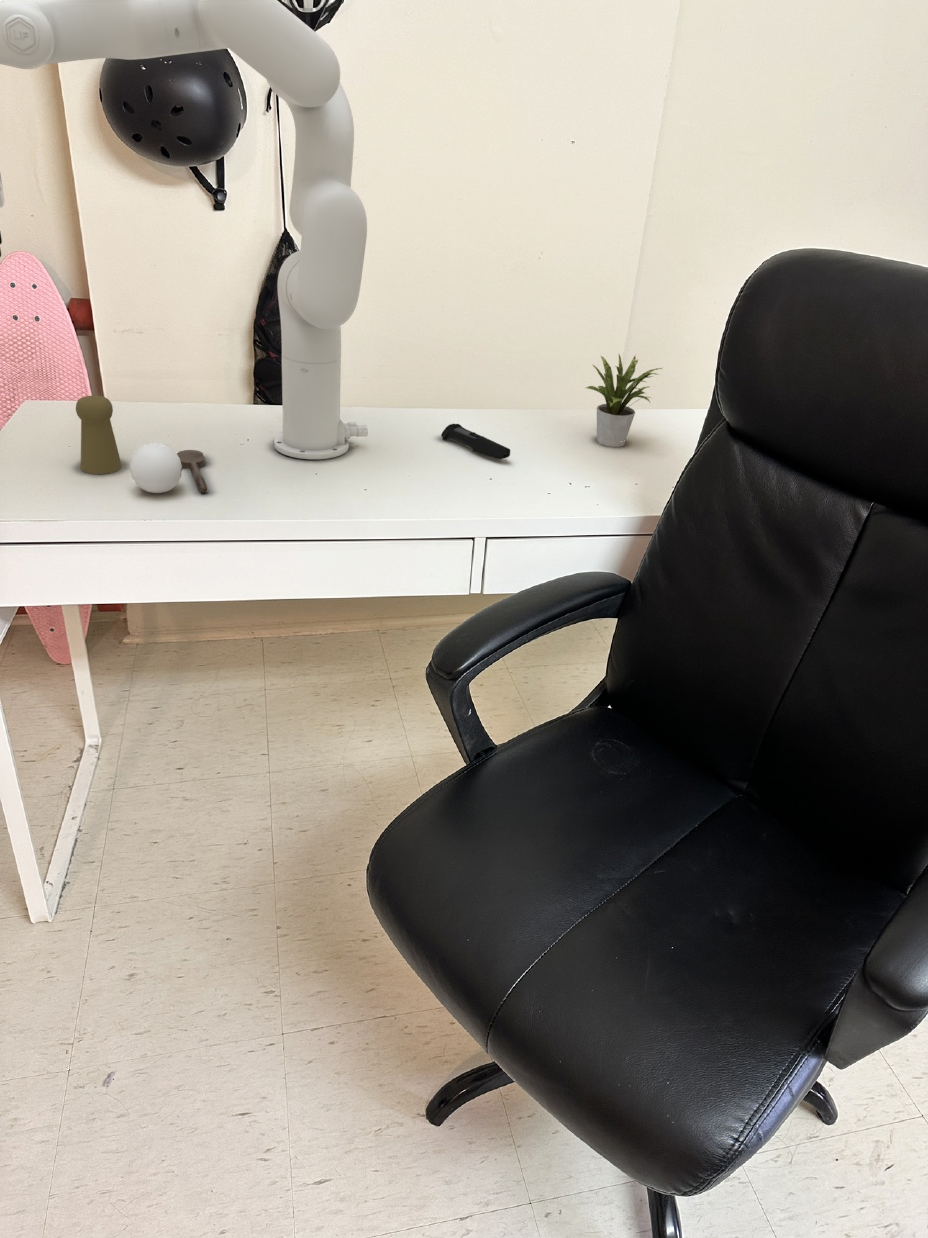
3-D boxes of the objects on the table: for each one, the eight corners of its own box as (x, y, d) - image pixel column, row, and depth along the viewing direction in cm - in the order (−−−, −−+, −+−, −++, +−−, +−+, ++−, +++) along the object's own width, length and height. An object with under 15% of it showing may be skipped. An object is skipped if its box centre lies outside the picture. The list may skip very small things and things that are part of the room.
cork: (109, 476, 144) (101, 406, 138) (72, 470, 145) (63, 400, 139) (129, 463, 149) (122, 394, 143) (93, 457, 150) (85, 389, 144)
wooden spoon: (174, 456, 153) (174, 449, 152) (201, 454, 154) (201, 447, 154) (189, 495, 140) (189, 487, 140) (218, 493, 142) (218, 485, 141)
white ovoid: (187, 499, 139) (183, 451, 135) (134, 502, 136) (129, 454, 133) (179, 473, 147) (176, 428, 143) (129, 476, 144) (124, 430, 141)
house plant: (651, 462, 168) (669, 371, 160) (574, 452, 170) (587, 361, 162) (650, 437, 181) (666, 351, 172) (578, 427, 182) (590, 342, 174)
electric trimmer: (498, 467, 161) (500, 450, 159) (439, 438, 170) (440, 421, 169) (514, 463, 163) (516, 446, 161) (454, 435, 173) (456, 418, 171)
